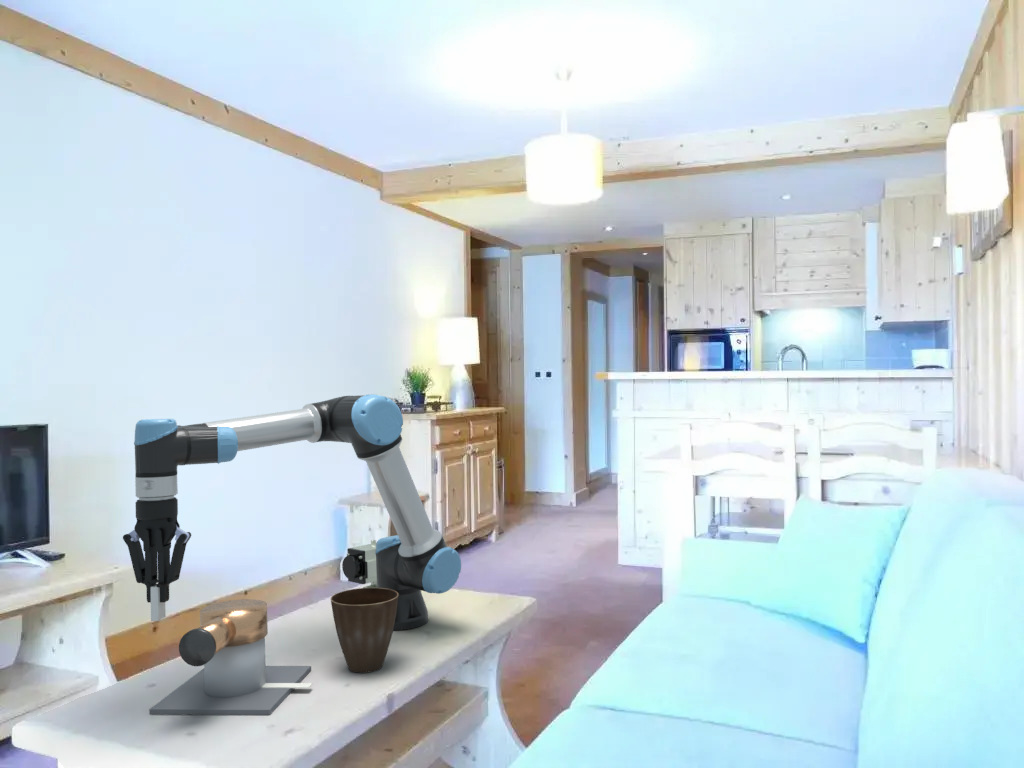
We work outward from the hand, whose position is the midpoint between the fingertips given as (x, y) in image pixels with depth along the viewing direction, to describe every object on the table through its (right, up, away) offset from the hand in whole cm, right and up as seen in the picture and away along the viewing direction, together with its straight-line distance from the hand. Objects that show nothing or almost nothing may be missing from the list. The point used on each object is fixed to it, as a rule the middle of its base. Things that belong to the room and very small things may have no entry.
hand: (158, 618), depth 153 cm
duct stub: (+13, -18, +10) cm, 25 cm away
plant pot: (+36, -18, +22) cm, 46 cm away
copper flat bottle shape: (+11, -7, +5) cm, 14 cm away
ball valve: (+29, -19, +79) cm, 86 cm away
